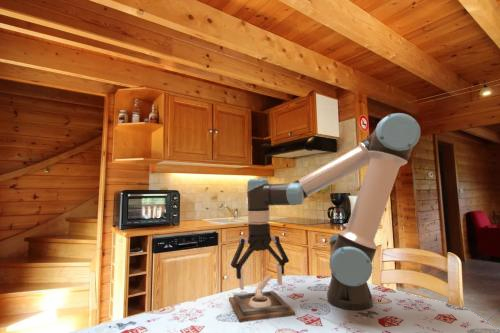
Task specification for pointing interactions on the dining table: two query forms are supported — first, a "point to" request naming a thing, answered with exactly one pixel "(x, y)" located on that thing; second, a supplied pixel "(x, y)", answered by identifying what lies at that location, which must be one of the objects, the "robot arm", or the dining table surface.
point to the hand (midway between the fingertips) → (261, 286)
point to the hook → (261, 295)
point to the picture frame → (249, 313)
